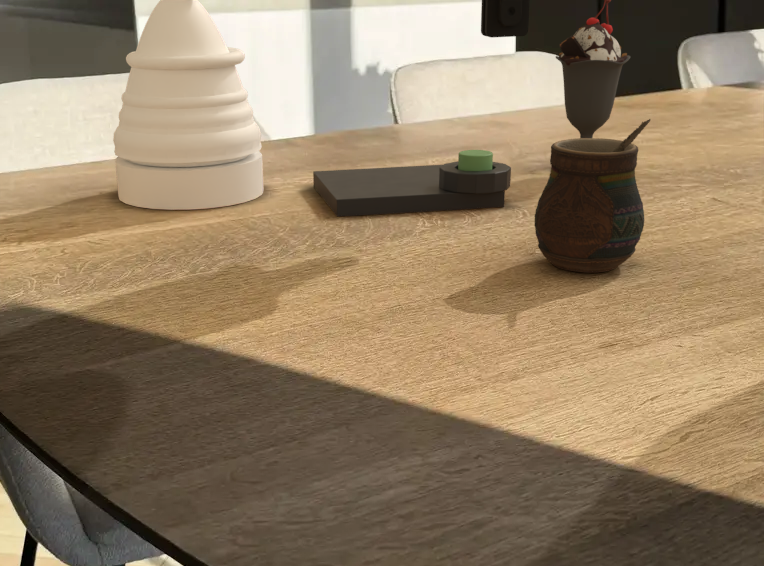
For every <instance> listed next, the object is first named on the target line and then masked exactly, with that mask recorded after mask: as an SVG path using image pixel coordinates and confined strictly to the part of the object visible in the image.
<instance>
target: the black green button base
mask: <svg viewBox="0 0 764 566" xmlns="http://www.w3.org/2000/svg"><path fill="white" fill-rule="evenodd" d="M312 174H313V175H312V178H313V179H312V180H313V188H314V190H316V192H317V193H318V194H319V196H320V197H321V198H322V199H323V201H324V202H325V203H326V204H327V206H328V207H329V208H330V209H331V211H332V212H333V213H334V215H335V216H336V217H338V218H339V217H357V216H374V215H375V216H376V215H390V214H391V215H393V214H405V213H406V214H408V213H426V212H427V213H428V212H441V211H443V212H444V211H458V210H459V211H460V210H461V211H462V210H479V209H493V208H494V209H495V208H504V207H505V196H506V191H507V190H508V189H509V188H510V187H511V180H512V179H511V178H512V167H511V166H509V165H508V164H507V163H503V162H498V161H493V163H492V170H488V171H463V170H458V161H453V162H452V161H451V162H447V163H444V164H429V165H410V166H409V165H407V166H406V165H405V166H391V167H390V166H389V167H371V168H370V167H369V168H351V169H335V170H334V169H331V170H330V169H329V170H315V171H313V172H312Z"/></svg>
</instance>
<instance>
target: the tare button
mask: <svg viewBox="0 0 764 566" xmlns="http://www.w3.org/2000/svg"><path fill="white" fill-rule="evenodd" d="M457 156H458V159H457V160H458V161H457V162H458V170H463V171H488V170H492V163H493V162H494V160H493V159H494V153H493V152H492V151H490V150H485V149H467V150H461V151H459V152H458V155H457Z"/></svg>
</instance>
